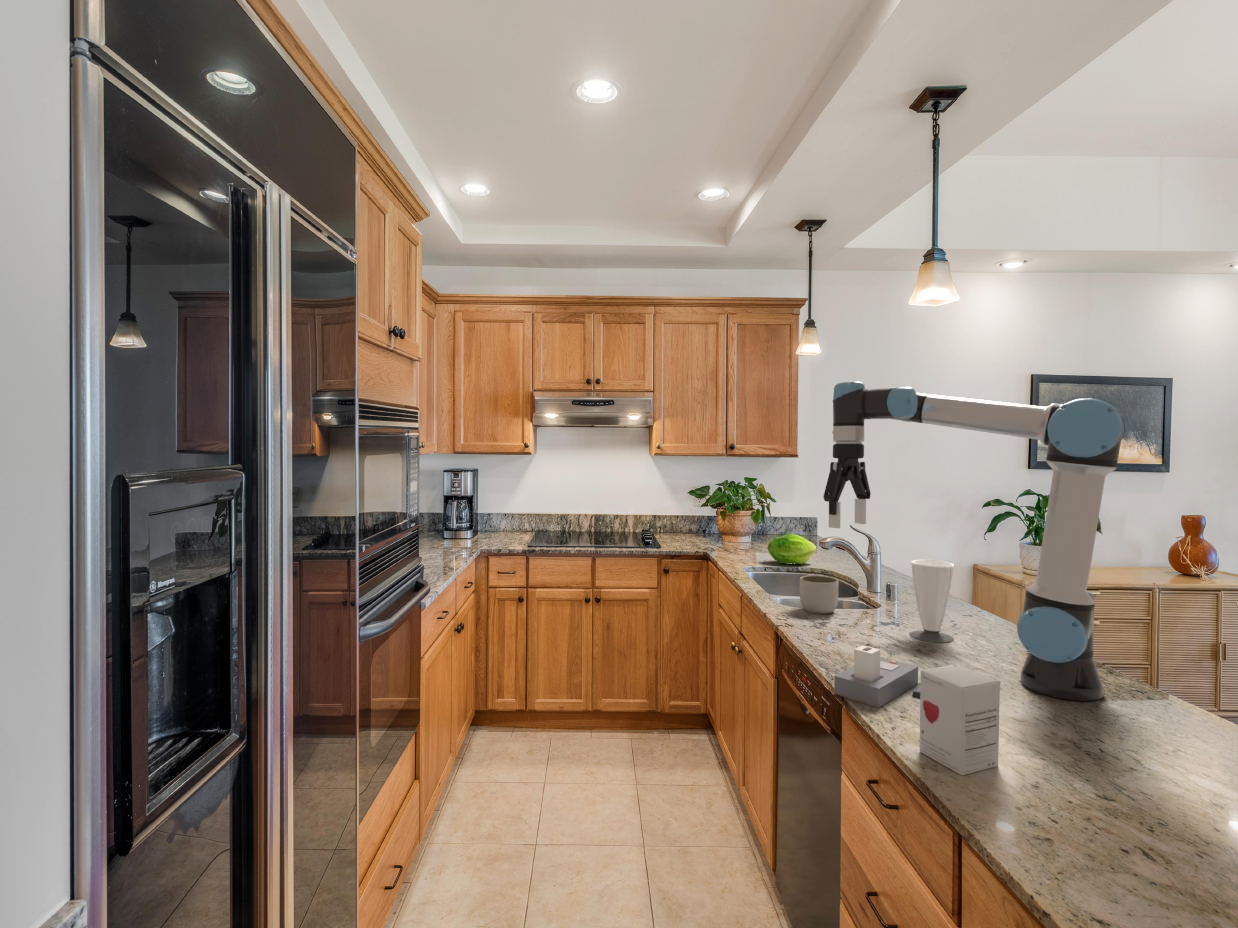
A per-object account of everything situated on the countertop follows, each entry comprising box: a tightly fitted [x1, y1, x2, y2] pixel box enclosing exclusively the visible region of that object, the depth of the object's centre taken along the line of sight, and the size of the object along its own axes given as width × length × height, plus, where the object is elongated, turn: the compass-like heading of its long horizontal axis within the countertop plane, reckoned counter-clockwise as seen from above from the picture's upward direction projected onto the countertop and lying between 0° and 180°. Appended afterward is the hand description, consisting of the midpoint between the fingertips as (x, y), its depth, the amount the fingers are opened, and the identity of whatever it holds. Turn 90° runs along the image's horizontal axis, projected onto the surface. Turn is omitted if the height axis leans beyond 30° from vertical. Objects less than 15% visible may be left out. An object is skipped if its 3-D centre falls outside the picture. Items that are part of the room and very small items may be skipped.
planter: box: [799, 574, 839, 615], centre depth 206 cm, size 12×12×11 cm
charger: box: [853, 645, 881, 683], centre depth 135 cm, size 4×4×9 cm
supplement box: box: [919, 663, 1001, 776], centre depth 106 cm, size 9×9×15 cm
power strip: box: [833, 656, 919, 708], centre depth 138 cm, size 10×20×4 cm, turn 132°
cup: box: [909, 559, 955, 644], centre depth 177 cm, size 12×12×22 cm
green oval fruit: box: [766, 533, 817, 565], centre depth 293 cm, size 15×23×16 cm
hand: (847, 525), depth 157 cm, fingers open, 13 cm apart
